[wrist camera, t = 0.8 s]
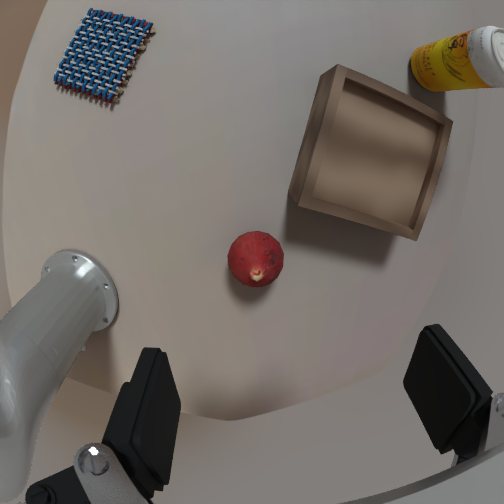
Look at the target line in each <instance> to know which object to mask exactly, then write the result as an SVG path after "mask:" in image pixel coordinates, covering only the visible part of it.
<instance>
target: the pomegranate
mask: <svg viewBox="0 0 504 504" xmlns="http://www.w3.org/2000/svg"><path fill="white" fill-rule="evenodd" d="M283 258H284V253H283V250H282V248H281V246H280V243H279V242H278V241H277V240H276V239H275V238H273V237H272V236H271V235H270V234H268V233H264V232H260V231H255V232H247V233H245V234H243V235H241V236H239V237H238V238H237V239H236V240H235V241H234V242H233V243H232V245H231V247H230V250H229V253H228V265H229V268H230V270H231V272H232V274H233V276H234V277H235V278H236V279H237V280H238V281H240V282H241V283H242V284H244V285H247V286H250V287H263V286H265V285H268V284H270V283H272V282H273V281H274V280H275V279H276V278H277V277H278V276H279V274H280V272H281V270H282V268H283Z"/></svg>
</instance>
